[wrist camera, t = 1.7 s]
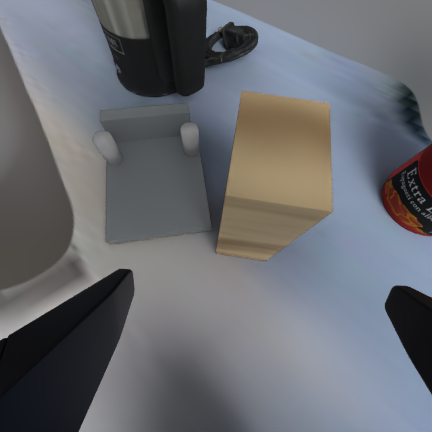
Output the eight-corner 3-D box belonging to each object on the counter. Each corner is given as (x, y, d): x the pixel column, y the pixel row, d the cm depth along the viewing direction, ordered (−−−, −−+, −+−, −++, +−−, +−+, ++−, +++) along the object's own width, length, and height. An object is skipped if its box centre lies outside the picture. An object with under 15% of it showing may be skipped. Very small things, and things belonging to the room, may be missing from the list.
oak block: (265, 261, 21) (332, 211, 10) (215, 253, 21) (225, 195, 10) (270, 201, 23) (329, 103, 12) (225, 194, 23) (242, 90, 12)
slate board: (211, 230, 22) (212, 215, 18) (110, 244, 21) (88, 231, 17) (196, 131, 26) (194, 102, 22) (110, 140, 25) (93, 111, 21)
